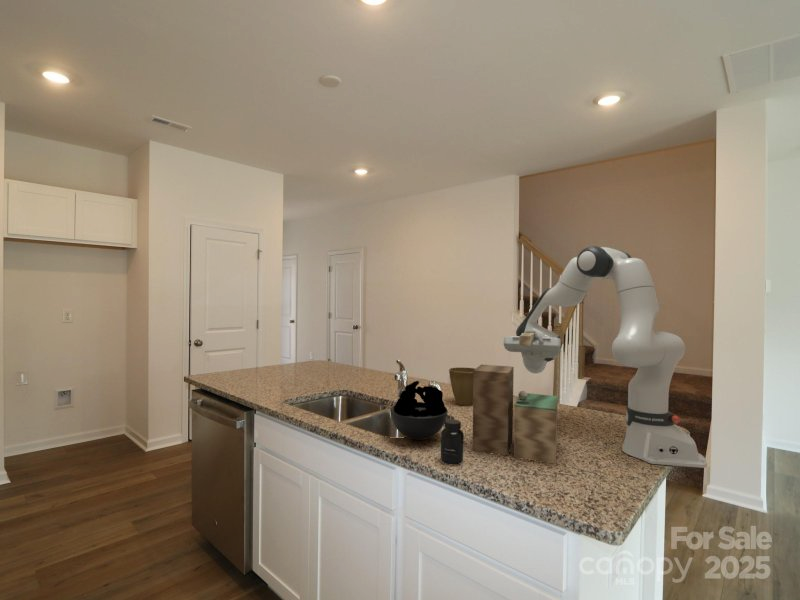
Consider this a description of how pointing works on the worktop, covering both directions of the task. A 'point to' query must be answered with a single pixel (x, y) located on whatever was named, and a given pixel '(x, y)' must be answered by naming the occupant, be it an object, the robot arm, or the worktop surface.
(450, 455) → the supplement bottle
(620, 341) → the robot arm
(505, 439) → the walnut stand
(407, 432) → the bowl of black rocks
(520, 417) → the green topped wooden block
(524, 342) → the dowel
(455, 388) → the plant pot
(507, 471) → the worktop surface
